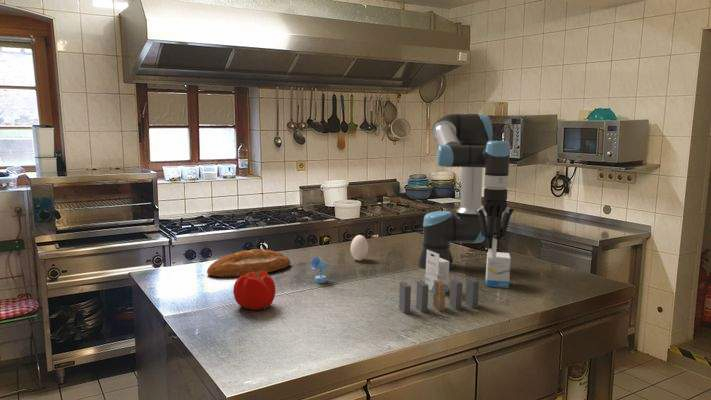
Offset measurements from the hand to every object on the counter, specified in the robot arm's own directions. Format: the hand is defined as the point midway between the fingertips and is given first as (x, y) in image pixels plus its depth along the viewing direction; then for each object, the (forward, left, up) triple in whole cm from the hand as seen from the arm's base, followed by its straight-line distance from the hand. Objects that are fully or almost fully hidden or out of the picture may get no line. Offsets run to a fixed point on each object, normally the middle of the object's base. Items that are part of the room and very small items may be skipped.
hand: (492, 257), depth 175 cm
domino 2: (0, -25, -16) cm, 30 cm away
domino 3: (0, -13, -16) cm, 21 cm away
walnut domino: (0, -19, -16) cm, 25 cm away
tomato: (-14, -78, -17) cm, 81 cm away
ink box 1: (-18, -12, -17) cm, 27 cm away
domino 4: (0, -7, -16) cm, 18 cm away
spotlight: (-37, -52, -17) cm, 66 cm away
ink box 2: (-20, +14, -17) cm, 30 cm away
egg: (-64, -29, -17) cm, 72 cm away
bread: (-57, -76, -17) cm, 97 cm away
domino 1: (0, -31, -16) cm, 35 cm away
